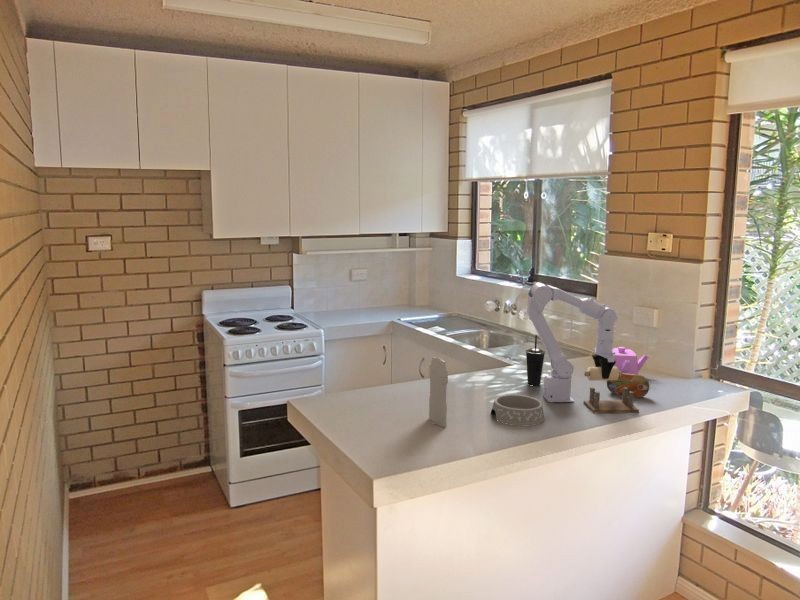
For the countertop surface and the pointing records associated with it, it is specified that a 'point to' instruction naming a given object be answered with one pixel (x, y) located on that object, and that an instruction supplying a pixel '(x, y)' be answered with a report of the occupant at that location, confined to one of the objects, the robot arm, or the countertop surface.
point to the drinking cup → (534, 364)
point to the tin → (629, 385)
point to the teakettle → (628, 360)
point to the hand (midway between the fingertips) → (602, 376)
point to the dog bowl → (518, 410)
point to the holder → (611, 403)
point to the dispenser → (438, 392)
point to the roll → (596, 374)
